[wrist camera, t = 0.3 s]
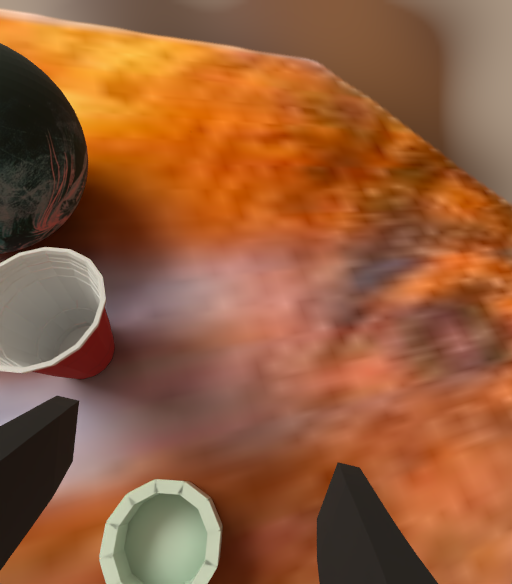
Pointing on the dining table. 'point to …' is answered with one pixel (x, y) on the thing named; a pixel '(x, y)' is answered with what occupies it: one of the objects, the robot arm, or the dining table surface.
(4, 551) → the robot arm
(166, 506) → the bowl
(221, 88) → the dining table surface
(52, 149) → the decorative sphere
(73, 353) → the plastic cup
